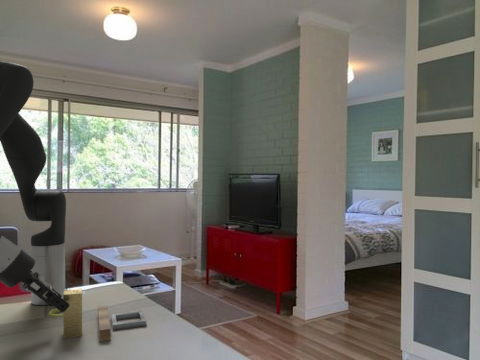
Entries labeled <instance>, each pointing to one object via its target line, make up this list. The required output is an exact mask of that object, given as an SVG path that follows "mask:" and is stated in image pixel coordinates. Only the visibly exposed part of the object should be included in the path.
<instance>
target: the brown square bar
mask: <svg viewBox="0 0 480 360" xmlns="http://www.w3.org/2000/svg"><path fill="white" fill-rule="evenodd" d="M108 307H109V306H108V305H99V306H98V305H97V317H98V318H97V319H98V320H97V321H98V334H99V335H98V337H99V338H98V339H99V342H102V341H110V340H111V339H112V336H111V331H112V329H111V322H110V321H111V320H110V316H109V315H110V314H109V308H108Z"/></svg>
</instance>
